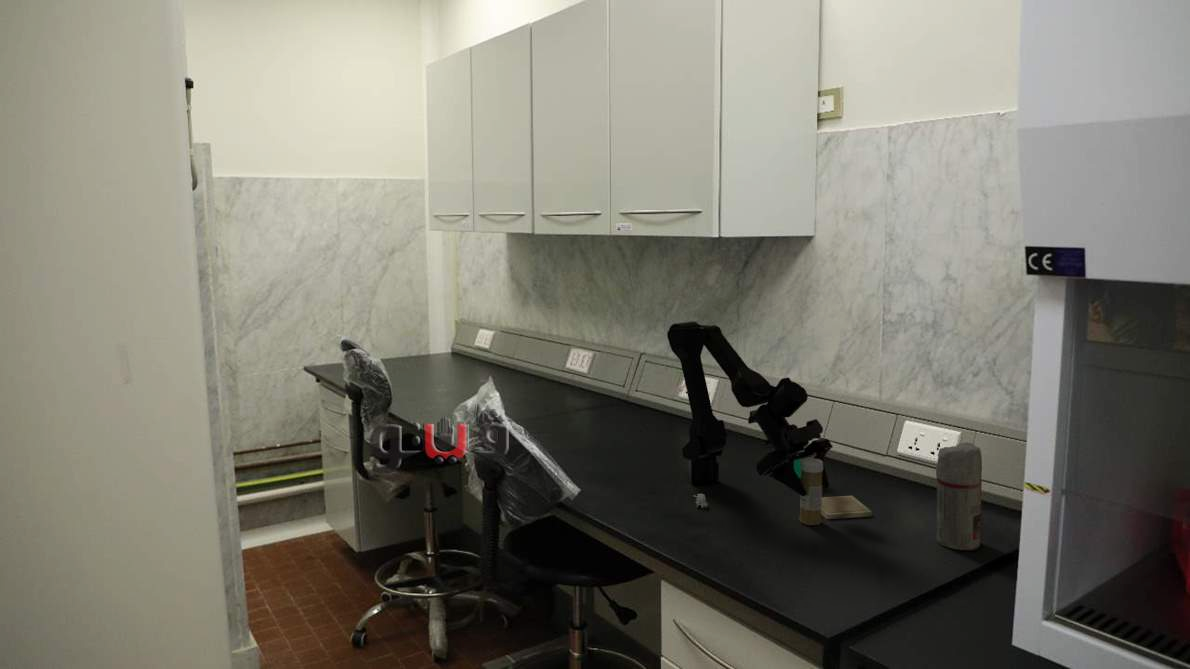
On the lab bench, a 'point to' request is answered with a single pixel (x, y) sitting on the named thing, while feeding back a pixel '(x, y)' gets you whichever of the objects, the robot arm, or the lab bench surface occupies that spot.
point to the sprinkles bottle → (811, 491)
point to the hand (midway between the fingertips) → (816, 491)
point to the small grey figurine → (701, 500)
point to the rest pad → (843, 507)
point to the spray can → (959, 496)
